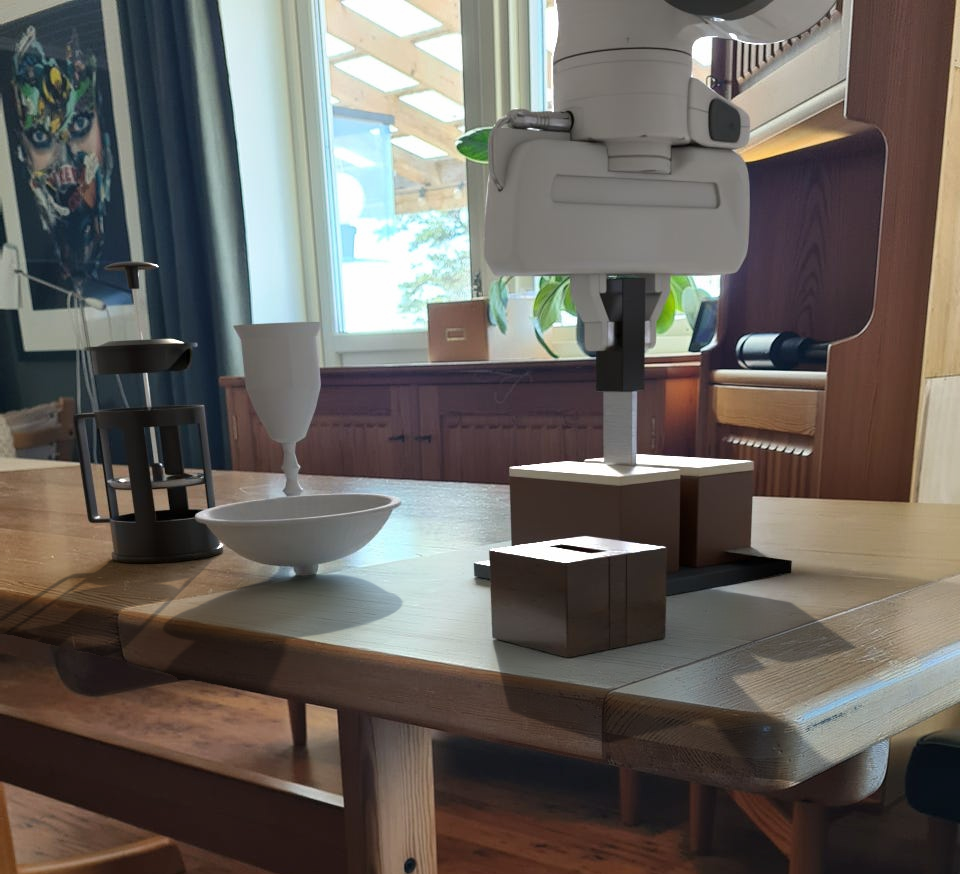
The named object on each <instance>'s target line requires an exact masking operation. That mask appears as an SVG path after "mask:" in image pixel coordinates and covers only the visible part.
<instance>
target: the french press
mask: <svg viewBox="0 0 960 874" xmlns="http://www.w3.org/2000/svg"><path fill="white" fill-rule="evenodd" d="M103 269H104V271H105V270H106V271H125V277H126V282H127V288H128V290H131V293H132V299H133V307H134V308H133V309H134V315H135V323H136V329H137V331H136V333H137V338H138V339H131V340H129V339H128V340H113V341H112V340H111V341H107V342H104V343H102V344H99V345H97V346H85V347H84V351H85V352H90V356H91V361H92V369H93V376H105V375H109V376H110V375H131V374H132V375H133V374H142V377H143V384H144V392H145V393H144V394H145V401H146V406H138V407H137V406H136V407H135V406H134V407H119V408H108V409H107V408H106V409H98V410H93V412H83V413H75V414H74V415H73V416H72V421H73V428H74V435H75V440H76V442H75V443H76V449H77V454H78V462H79V468H80V476H81V482H82V488H83V495H84V501H85V508H86V515H87V520H88V522H89V523H90V524H109V528H110V534H111V541H112V548H113V551H112V552H111V559H112V561H115V562H119V563H124V564H125V563H126V564H164V563H176V562H177V563H178V562H186V561H194V560H199V559H200V560H201V559H205V558H210V557H214V556H217V555H219V554H222V553H223V552H224V544H223V543H221V541H220V540H219V539H218V538H217V537H216V536H215V535H214V534H213V533H212V532H211V530H210V529H209V528H208V527H207V525H206V524H203V523H200V522H198V521H196V519H195V515H196V514H197V513H199V512H201V511H203V510H206V509H209V508H213V507H217V505H216V499H215V491H214V481H213V480H214V479H213V474H212V462H211V455H210V447H209V435H208V429H207V418H206V410H205V405H204V404H182V405H180V404H178V405H155V406H153V405H152V400H151V392H150V391H151V390H150V385H149V384H150V383H149V375H148V374H150V373H151V374H152V373H164V372H166V373H167V372H185V371H187V370H189V369H190V367H191V365H192V363H193V357H194V356H193V355H194V353H193V348H197V347H198V342H183V341H180V340H177V339H174V338H156V339H155V338H153V339H144V338H143V336H144V335H143V329H142V321H141V314H140V313H141V312H140V306H139V299H138V291H137V290H140V289H141V286H140V274H139V273H140V271H146V270H156V269H159V265H158V264H155V263H153V262H148V261H119V262H115V263H110V264H108V265H106V266H104V268H103ZM86 419H94V423H95V428H96V430H97V438H98V445H99V452H100V458H101V465H102V471H103V472H102V473H103V479H104V486H105V493H106V498H107V499H106V501H107V506H108V515H109V516H100V515H99V510H98V504H97V503H98V502H97V497H96V489H95V484H94V483H95V481H94V476H93V469H92V462H91V455H90V449H89V443H88V442H89V441H88V435H87V428H86V421H85V420H86ZM196 424H197V429H198V437H199V446H200V454H201V464H202V471H203V472H185V465H184V457H183V456H184V455H183V448H182V440H181V439H182V438H181V432H180V426H185V425H196ZM146 428H149V432H150V439H151V446H152V455H153V463H152V464H151V469H150V460H149V453H148V446H147V439H146V431H145V429H146ZM155 428H158V430H159V437H160V444H161V445H160V446H161V453H162V462H163V464H162V463H161V462H159V454H158V446H157V439H156V432H155V431H156V430H155ZM108 429H122V433H123V439H124V447H125V448H124V449H125V453H126V462H127V468H128V475H127V476H121V477H116V478H115V476H114V470H113V469H114V468H113V462H112V455H111V448H110V441H109V433H108ZM202 485H204V490H205V498H206V499H205V500H206V507H207V508H190V507H189V506H190V505H189V499H188V498H189V497H188V489H187V487H196V486H202ZM153 490H166V493H167V500H168V501H167V502H168V509H158V510H157V509H156V508H155V506H156V505H155V500H154V499H155V498H154V492H153ZM117 491H131V499H132V506H133V507H132V508H133V512H129V513H123V514H120V512H119V505H118V497H117Z"/></svg>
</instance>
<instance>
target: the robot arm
mask: <svg viewBox="0 0 960 874" xmlns="http://www.w3.org/2000/svg"><path fill="white" fill-rule="evenodd" d="M838 1H839V0H553V2H554V6H555V7H554V8H555V12H556V18H557V19H556V20H557V22H556V27H557V28H556V29H557V30H556V37H555V43H554V48H553V51H552V56H551V101H552V102H551V107H552V110H541V111H533V110H531V111H530V110H529V109H526V108H512V109H509V110H508V111H507V112H506V114H505V115H503V116H502V117H500V118H499V119H497V121H496V122H495V123H494V125H493V126H492V128H491V130H490V131H489V134H488V137H487V138H488V139H487V161H488V162H487V163H488V164H487V165H488V166H487V167H488V173H489V174H488V180H487V188H486V197H485V209H484V222H483V223H484V224H483V256H484V261H485V262H486V264H487V265H488V268H489V269H490V271H491V272H492V274H493V275H494V276H495V277H569V297H570V298H571V301H572V303H573V305H574V307H575V309H576V312H577V313H578V315H579V318H580V320H581V322H582V323H584V326H583V327H584V347H585V350H586V351H587V352H596V351H607V350H615V349H616V347H617V345H618V338H617V333H618V322H607V321H609V319H608V316H607V314H606V311H605V308H604V305H603V303H602V300H601V297H600V294H599V293H605V292H606V279H607V277H633V278H645V350H653V349H654V348H655V346H656V343H657V321H658V320H659V318H660V316H661V314H662V311H663V309H664V307H665V305H666V303H667V301H668V299H669V296H670V294H671V280H672V279H671V277H702V276H704V277H705V276H721V275H731V274H735V273H737V272H738V271H739V270H740V268H741V266H742V265H743V262H744V261H745V259H746V257H747V254H748V249H749V241H750V239H749V237H750V217H751V215H750V213H751V209H750V208H751V200H750V199H751V196H750V195H751V193H750V190H751V189H750V187H751V186H750V175H749V171H748V167H747V164H746V161H745V159H744V158H743V157H742V155H741V154H740V153H739V152H737V151H735V150H739V149H743V148H745V147H746V146H747V145H749V141H750V136H751V119H750V116H749V114H748V112H747V111H745V110H744V109H743V108H742V107H740V106H738V105H736V104H735V103H733V102H732V101H730V100H728V99H727V98H725V97H724V96H722V95H720V94H719V93H717V92H716V91H715V90H714V89H712V88H711V87H710V86H709V85H707V84H706V83H704V81H702V80H701V79H699V78H697V77H695V76H693V60H694V59H693V58H694V46H695V45H696V43H697V42H698V41H700V40H701V39H704V38H712V39H716V40H723V41H732V42H733V41H735V42H742V43H746V44H750V45H770V44H777V43H782V42H786V41H790V40H792V39H796V38H798V37H799V36H801V35H803V34H805V33H807V32H808V31H811V29H813V28H814V27H815V26H817V25H818V24H819V23H820V22H822V20H823V19H825V17H826V16H827V15H828V14H829V13H830V12H831V11H832V9H833V8H834V7H835V6H836V4H837V2H838ZM504 125H506V127H503V126H504Z"/></svg>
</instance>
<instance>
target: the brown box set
mask: <svg viewBox="0 0 960 874" xmlns="http://www.w3.org/2000/svg"><path fill="white" fill-rule="evenodd" d="M754 470H755V461H753V460H740V459H725V458H724V459H723V458H709V457H708V458H707V457H706V458H705V457H688V456H675V455H673V456H671V455H654V454H638V453H637V467H636V466H622V465H607V464H604V457H599V458H588V459H584V460H583V462H580V461H579V462H578V461H559V462H549V463H539V464H530V465H521V466H520V465H519V466H510V467H509V468H508V472H509V480H508V481H509V508H510V510H509V511H510V513H509V515H510V542H511V544H510V545H511V546H510V547H513V546H520V545H527V544H534V543H541V542H548V541H554V540H561V539H568V538H575V537H582V536H589V537H596V538H603V539H610V540H618V541H625V542H632V543H639V544H646V545H654V546H661V547H666V548H667V569H666V595H667V596H672V594H673V595H678V594H683V592H684V593H689V592H695V591H700V590H706V589H711V588H717V587H722V586H727V585H733V584H739V583H743V582H744V583H745V582H749V581H754V580H761V579H766V578H771V577H777V576H783V575H788V574H792V568H793V567H792V566H793V560H792V559H791V560H790V559H783V558H777V557H769V556H763V555H762V556H761V555H755V554H746V553H740V552H739V553H738V552H731V551H734V550H741V549H747V548H751V547H752V526H753V525H752V523H753V502H754V501H753V497H754V475H755V474H754ZM473 576H474V577H476V578H480V579H486V580H490V563H489V560H484V561H477V562H474V563H473Z"/></svg>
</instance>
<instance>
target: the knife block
mask: <svg viewBox="0 0 960 874" xmlns="http://www.w3.org/2000/svg"><path fill="white" fill-rule="evenodd" d="M488 561H489V563H490V579H489V585H490V587H489V589H490V613H491V615H490V617H491V637H492V639H495V640H499V641H502V642H506V643H510V644H514V645H518V646H521V647H525V648H530V649H533V650H537V651H540V652H545V653H549V654H553V655H555V656H560V657H563V658H572V657H579V656H583V655H588V654H592V653H598V652H601V651H602V652H603V651H606V650H613V649H616V648H623V647H628V646H632V645H638V644H644V643H648V642H652V641H657V640H663V639H666V636H667V635H666V634H667V633H666V632H667V631H666V630H667V596H666V569H667V548H666V547H661V546H654V545H646V544H639V543H632V542H625V541H618V540H610V539H603V538H596V537H589V536H582V537H575V538H568V539H561V540H554V541H548V542H541V543H534V544H527V545H520V546H513V547H511V546H507V547H500V548H492V549H489V550H488ZM662 638H663V639H662Z"/></svg>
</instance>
